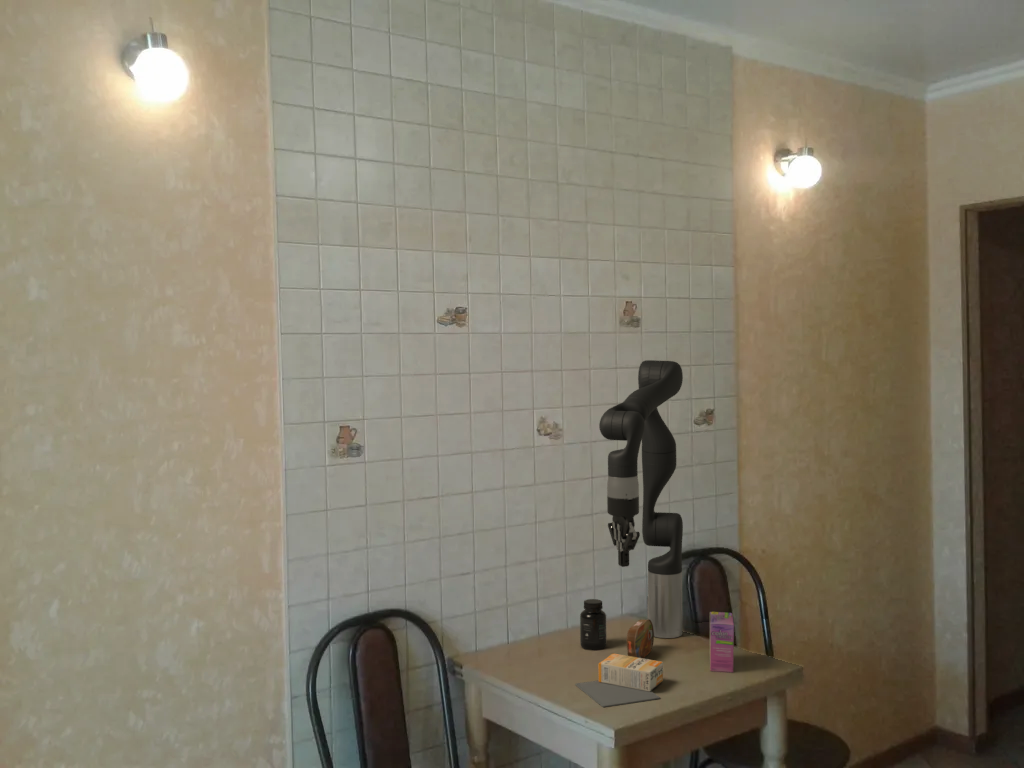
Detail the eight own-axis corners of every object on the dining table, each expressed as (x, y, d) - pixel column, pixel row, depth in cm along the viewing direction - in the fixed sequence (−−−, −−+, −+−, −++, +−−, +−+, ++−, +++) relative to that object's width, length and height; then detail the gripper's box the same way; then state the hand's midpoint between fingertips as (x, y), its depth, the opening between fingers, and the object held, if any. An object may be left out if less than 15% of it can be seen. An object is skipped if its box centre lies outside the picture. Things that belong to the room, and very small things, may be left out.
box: (734, 673, 224) (734, 624, 224) (709, 671, 225) (709, 623, 225) (732, 659, 234) (732, 612, 234) (709, 658, 235) (709, 611, 235)
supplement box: (611, 651, 224) (663, 660, 218) (612, 671, 224) (663, 681, 218) (597, 662, 217) (650, 671, 211) (597, 682, 217) (650, 692, 211)
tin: (636, 665, 230) (636, 631, 230) (624, 663, 232) (624, 630, 231) (655, 648, 244) (654, 616, 243) (643, 646, 245) (643, 614, 245)
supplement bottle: (574, 646, 245) (574, 601, 245) (592, 641, 250) (592, 596, 250) (594, 652, 240) (593, 606, 240) (611, 646, 245) (611, 601, 245)
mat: (575, 684, 217) (575, 683, 217) (629, 677, 222) (629, 676, 222) (603, 707, 203) (603, 706, 203) (660, 698, 207) (660, 697, 207)
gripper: (597, 491, 228) (598, 561, 229) (620, 500, 215) (621, 574, 216) (624, 488, 230) (625, 557, 231) (650, 497, 218) (650, 571, 219)
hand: (623, 565), depth 224 cm, fingers closed
